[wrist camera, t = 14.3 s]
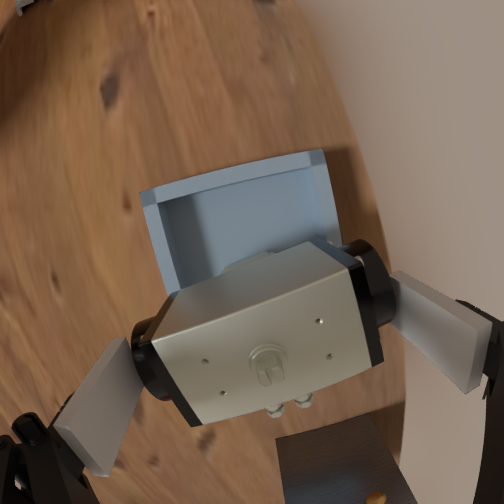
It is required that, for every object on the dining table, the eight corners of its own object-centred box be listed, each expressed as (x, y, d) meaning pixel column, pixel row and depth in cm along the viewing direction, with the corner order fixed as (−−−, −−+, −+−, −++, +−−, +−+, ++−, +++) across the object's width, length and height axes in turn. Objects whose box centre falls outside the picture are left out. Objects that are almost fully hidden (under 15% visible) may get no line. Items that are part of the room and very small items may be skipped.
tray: (151, 192, 20) (139, 192, 18) (311, 154, 20) (322, 148, 18) (212, 387, 24) (210, 407, 21) (346, 355, 24) (357, 373, 21)
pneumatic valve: (167, 278, 21) (98, 367, 9) (319, 220, 21) (411, 253, 9) (198, 341, 22) (169, 460, 10) (340, 288, 22) (425, 374, 10)
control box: (270, 436, 25) (288, 561, 11) (371, 407, 25) (432, 514, 11) (287, 485, 27) (303, 580, 13) (369, 462, 27) (407, 548, 13)
